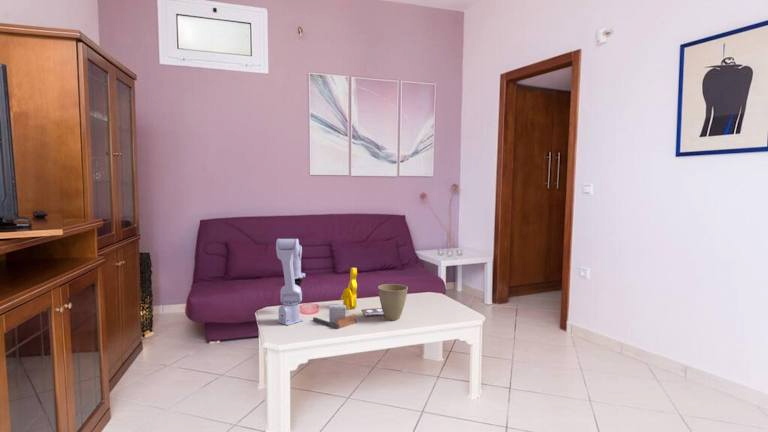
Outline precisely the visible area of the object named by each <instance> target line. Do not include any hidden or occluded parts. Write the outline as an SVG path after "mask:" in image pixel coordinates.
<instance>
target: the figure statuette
mask: <svg viewBox="0 0 768 432" xmlns="http://www.w3.org/2000/svg"><path fill="white" fill-rule="evenodd" d="M349 273H350V275H349V276H350V280H349V283H348V286H346V287H345V288H344V289H343V292H342V295H341V297H340V300H341V301H343V303H342V305H346V310H350V309H356V308H357V297H358V296H357V290H358V283H357V276H358V270H357V267H350V271H349Z"/></svg>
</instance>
